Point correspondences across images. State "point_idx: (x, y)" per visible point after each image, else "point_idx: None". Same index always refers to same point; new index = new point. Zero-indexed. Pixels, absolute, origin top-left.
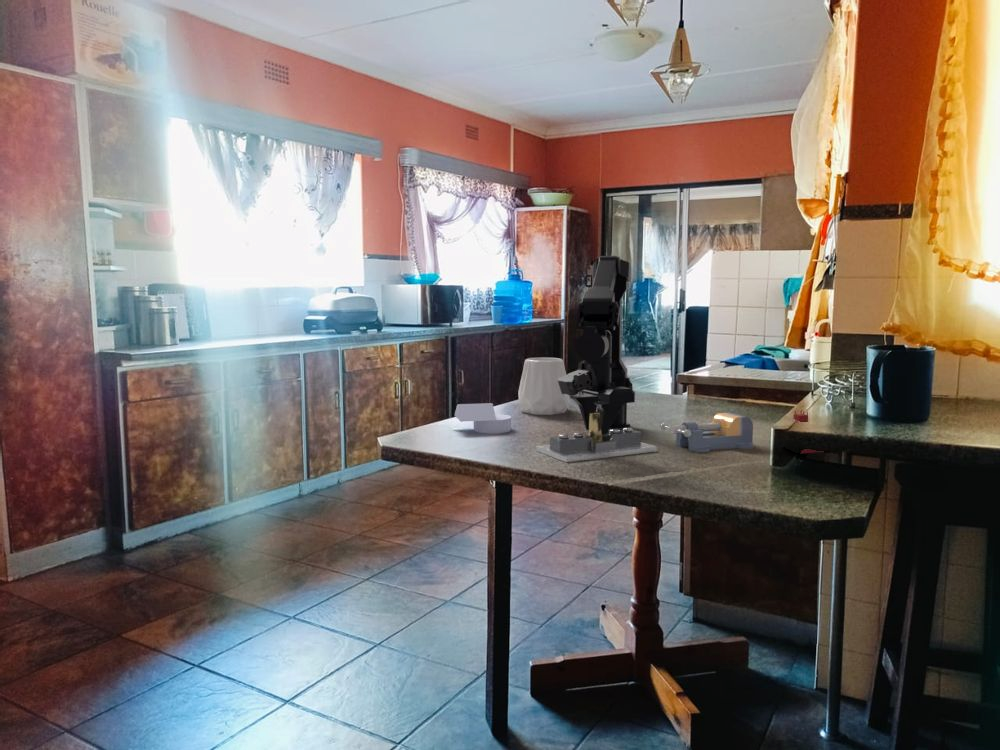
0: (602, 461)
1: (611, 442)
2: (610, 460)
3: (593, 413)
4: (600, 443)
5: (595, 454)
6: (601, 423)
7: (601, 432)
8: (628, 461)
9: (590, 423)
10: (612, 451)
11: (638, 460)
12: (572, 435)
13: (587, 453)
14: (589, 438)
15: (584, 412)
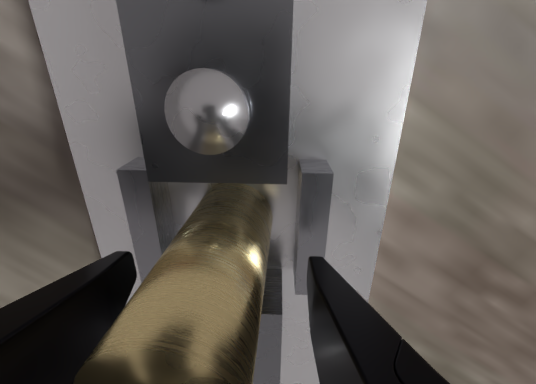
0: (20, 106)
1: (140, 264)
2: (36, 153)
3: (149, 379)
4: (126, 201)
5: (60, 107)
6: (43, 295)
7: (121, 256)
8: (6, 209)
9: (188, 263)
10: (97, 216)
11: (20, 250)
12: (263, 90)
13: (78, 71)
14: (146, 161)
15: (353, 368)
